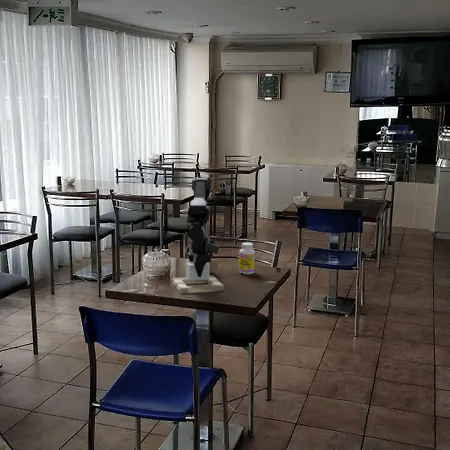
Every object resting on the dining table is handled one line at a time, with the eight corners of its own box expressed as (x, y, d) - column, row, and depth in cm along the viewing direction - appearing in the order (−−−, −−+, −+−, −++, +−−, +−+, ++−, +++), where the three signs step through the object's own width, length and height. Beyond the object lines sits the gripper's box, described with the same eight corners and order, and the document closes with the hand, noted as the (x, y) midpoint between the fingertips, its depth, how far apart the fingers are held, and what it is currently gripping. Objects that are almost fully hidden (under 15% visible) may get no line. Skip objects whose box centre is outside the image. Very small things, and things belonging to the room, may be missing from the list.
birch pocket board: (172, 283, 244) (172, 278, 244) (212, 280, 249) (213, 275, 249) (180, 293, 230) (180, 288, 230) (223, 290, 235) (223, 285, 234)
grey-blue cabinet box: (185, 276, 240) (185, 260, 239) (205, 275, 243) (205, 259, 242) (189, 280, 235) (189, 264, 234) (209, 279, 237) (209, 263, 236)
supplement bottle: (237, 274, 260) (237, 244, 257) (240, 270, 266) (241, 241, 264) (252, 275, 258) (253, 245, 256) (255, 271, 264) (256, 242, 262)
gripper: (224, 239, 229) (224, 279, 232) (211, 230, 247) (210, 267, 250) (196, 241, 226) (195, 281, 229) (184, 231, 244) (184, 269, 246)
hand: (197, 274), depth 239 cm, fingers closed on grey-blue cabinet box, 6 cm apart
